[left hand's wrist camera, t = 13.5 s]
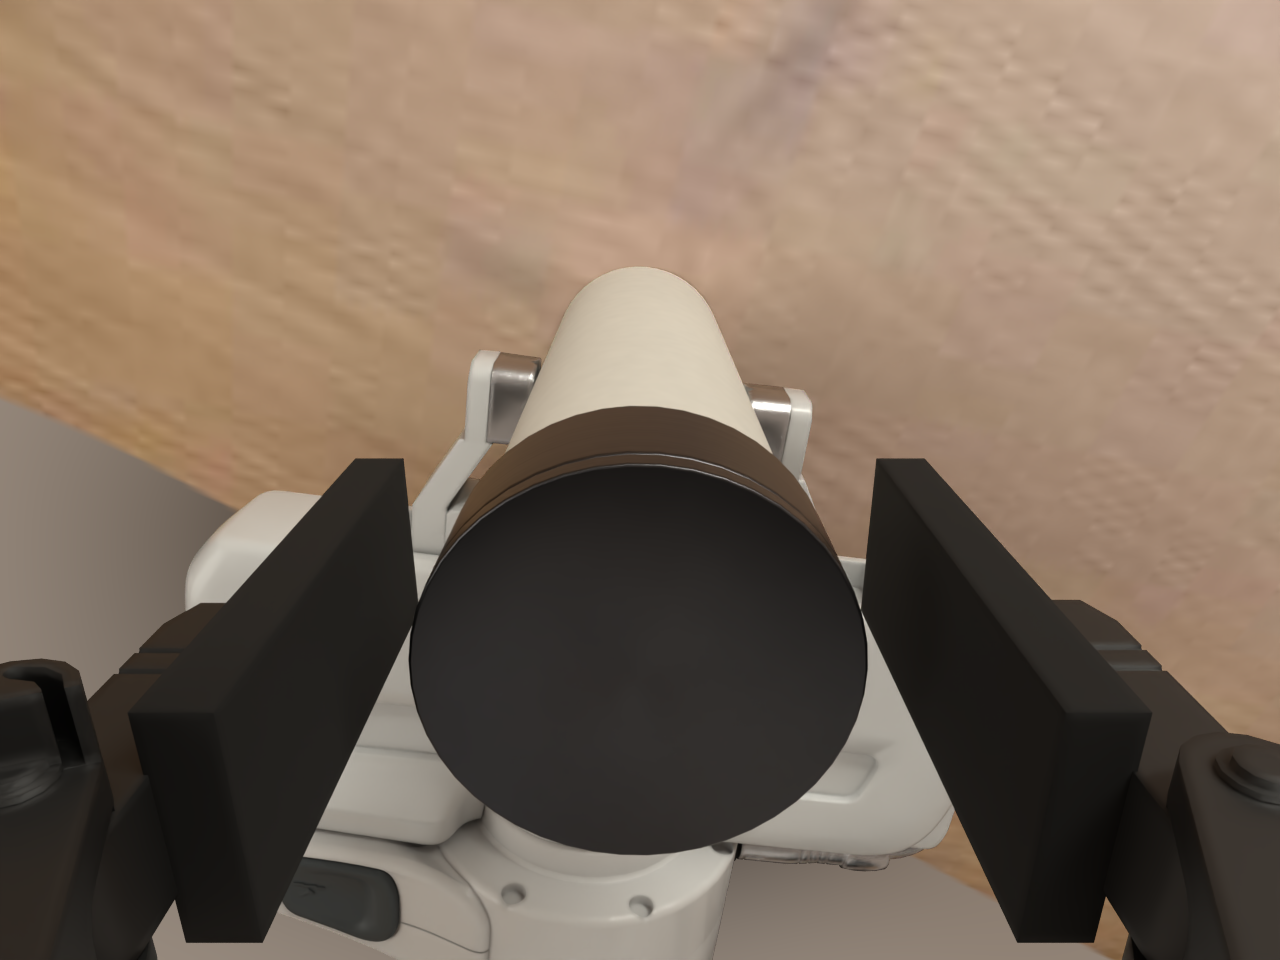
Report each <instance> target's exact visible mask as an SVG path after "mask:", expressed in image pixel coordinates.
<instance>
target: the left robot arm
mask: <svg viewBox="0 0 1280 960" xmlns="http://www.w3.org/2000/svg"><path fill="white" fill-rule="evenodd" d="M417 604H418V593H417V584H416V574H415V565H414V555H413V545H412V536H411V526H410V517H409V507H408V498H407V488H406V479H405V469H404V459H355V460H354V461H353V462H352V463H351V464H350V465H349V466H348V467H347V469H346V470H345V471H344V472H343V473H342V474H341V475H340V476H339V477H338V479H337V480H336V481H335V482H334V483H333V484H332V485H331V486H330V487H329V489H328V490H327V491H326V492H325V493H324V494H323V495H322V496H321V498H320V499H319V500H318V501H317V502H316V503H315V504H314V505H313V506H312V508H311V509H310V510H309V511H308V512H307V513H306V514H305V515H304V516H303V518H302V519H301V520H300V521H299V522H298V523H297V524H296V525H295V526H294V528H293V529H292V530H291V531H290V532H289V533H288V534H287V535H286V537H285V538H284V539H283V540H282V541H281V542H280V543H279V544H278V545H277V547H276V548H275V549H274V550H273V551H272V552H271V553H270V554H269V555H268V557H267V558H266V559H265V560H264V561H263V562H262V563H261V564H260V565H259V567H258V568H257V569H256V570H255V571H254V572H253V573H252V574H251V575H250V577H249V578H248V579H247V580H246V581H245V582H244V583H243V584H242V586H241V587H240V588H239V589H238V590H237V591H236V592H235V593H234V594H233V596H232V597H231V598H230V599H229V600H228V601H227V602H226V603H199V604H198V605H196V606H194V607H192V608H191V609H189V610H187V611H185V612H184V613H182V614H180V615H178V616H177V617H175V618H173V619H171V620H169V621H168V622H166V623H164V624H163V625H162V626H161V627H160V628H159V629H158V630H157V631H156V632H155V633H154V634H153V635H152V636H151V637H150V638H149V639H148V640H147V641H146V642H145V643H144V644H143V645H142V646H141V647H140V648H139V649H140V651H139V653H134V654H133V655H132V656H131V657H130V658H129V659H128V660H127V661H126V662H125V663H124V664H123V665H122V667H120V669H119V674H114V675H113V676H112V677H111V678H110V679H109V680H108V681H107V682H106V683H105V684H104V685H103V686H102V687H101V688H100V689H99V690H98V691H97V692H96V693H95V694H94V695H93V696H92V697H91V698H90V699H89V700H88V701H87V698H86V695H85V691H84V687H83V684H82V680H81V677H80V673H79V671H78V670H77V669H75V668H74V667H72V666H71V665H69V664H68V663H66V662H63V661H56V660H48V659H32V660H21V661H10V662H6V663H2V664H0V960H157V954H156V950H155V947H154V943H153V940H152V936H153V934H154V932H155V931H156V929H157V927H158V926H159V924H160V922H161V921H162V919H163V918H164V916H165V914H166V913H167V911H168V910H169V908H170V906H171V905H172V903H173V901H174V900H175V901H176V905H177V909H178V913H179V917H180V921H181V925H182V929H183V932H184V936H185V940H186V943H263V941H264V939H265V936H266V934H267V932H268V930H269V928H270V926H271V924H272V922H273V919H274V917H275V915H276V913H277V911H278V909H279V907H280V905H281V903H282V900H283V898H284V896H285V894H286V892H287V890H288V888H289V886H290V883H291V881H292V879H293V877H294V875H295V873H296V871H297V869H298V866H299V864H300V862H301V860H302V858H303V856H304V854H305V852H306V849H307V847H308V845H309V843H310V841H311V839H312V837H313V835H314V832H315V830H316V828H317V826H318V824H319V822H320V820H321V818H322V816H323V813H324V811H325V809H326V807H327V805H328V803H329V801H330V799H331V796H332V794H333V792H334V790H335V788H336V786H337V784H338V782H339V779H340V777H341V775H342V773H343V771H344V769H345V767H346V765H347V762H348V760H349V758H350V756H351V754H352V752H353V750H354V748H355V745H356V743H357V741H358V739H359V737H360V735H361V733H362V731H363V728H364V726H365V724H366V722H367V720H368V718H369V716H370V714H371V712H372V709H373V707H374V705H375V703H376V701H377V699H378V697H379V695H380V692H381V690H382V688H383V686H384V684H385V682H386V680H387V678H388V675H389V673H390V671H391V669H392V667H393V665H394V663H395V661H396V658H397V656H398V654H399V652H400V650H401V648H402V646H403V644H404V641H405V639H406V637H407V635H408V633H409V631H410V629H411V627H412V624H413V619H414V615H415V610H416V607H417ZM861 612H862V614H863V616H864V618H865V620H866V622H867V625H868V627H869V629H870V631H871V633H872V635H873V637H874V639H875V642H876V644H877V646H878V648H879V650H880V652H881V654H882V656H883V659H884V661H885V663H886V665H887V667H888V669H889V671H890V673H891V675H892V678H893V680H894V682H895V684H896V686H897V688H898V690H899V692H900V695H901V697H902V699H903V701H904V703H905V705H906V707H907V709H908V712H909V714H910V716H911V718H912V720H913V722H914V724H915V726H916V729H917V731H918V733H919V735H920V737H921V739H922V741H923V743H924V746H925V748H926V750H927V752H928V754H929V756H930V758H931V760H932V763H933V765H934V767H935V769H936V771H937V773H938V775H939V777H940V779H941V782H942V784H943V786H944V788H945V790H946V792H947V794H948V796H949V799H950V801H951V803H952V805H953V807H954V809H955V811H956V813H957V816H958V818H959V820H960V822H961V824H962V826H963V828H964V830H965V833H966V835H967V837H968V839H969V841H970V843H971V845H972V847H973V850H974V852H975V854H976V856H977V858H978V860H979V862H980V864H981V866H982V869H983V871H984V873H985V875H986V877H987V879H988V881H989V883H990V886H991V888H992V890H993V892H994V894H995V896H996V898H997V900H998V903H999V905H1000V907H1001V909H1002V911H1003V913H1004V915H1005V917H1006V919H1007V922H1008V924H1009V926H1010V928H1011V930H1012V932H1013V934H1014V936H1015V938H1016V941H1017V942H1018V943H1094V940H1095V936H1096V932H1097V929H1098V925H1099V921H1100V917H1101V913H1102V909H1103V905H1104V901H1105V897H1107V899H1108V900H1109V902H1110V903H1111V905H1112V907H1113V908H1114V910H1115V911H1116V913H1117V915H1118V916H1119V918H1120V920H1121V921H1122V923H1123V924H1124V926H1125V928H1126V929H1127V931H1128V933H1129V936H1128V939H1127V943H1126V947H1125V950H1124V954H1123V958H1122V960H1280V744H1276V743H1273V742H1269V741H1266V740H1262V739H1259V738H1256V737H1252V736H1249V735H1242V734H1233V733H1228V732H1227V731H1226V730H1225V729H1224V728H1223V727H1222V726H1221V725H1220V724H1219V723H1218V722H1217V721H1216V720H1215V719H1214V718H1213V717H1212V716H1211V715H1210V714H1209V713H1208V712H1207V711H1206V710H1205V709H1204V708H1203V707H1202V706H1201V705H1200V704H1199V703H1198V702H1197V701H1196V700H1195V699H1194V698H1193V697H1192V696H1191V695H1190V694H1189V693H1188V692H1187V691H1186V690H1185V689H1184V688H1183V687H1182V686H1181V685H1180V684H1179V683H1178V682H1177V681H1176V680H1175V679H1174V678H1173V677H1172V676H1171V675H1170V674H1169V673H1168V672H1167V671H1162V668H1161V667H1162V666H1161V665H1160V664H1159V663H1158V662H1157V661H1156V660H1155V659H1154V658H1153V657H1152V656H1151V655H1150V653H1149V652H1148V651H1147V650H1142V649H1141V644H1140V643H1139V642H1138V641H1137V640H1136V639H1135V638H1134V637H1133V636H1132V635H1131V634H1130V633H1129V632H1128V631H1127V630H1126V629H1125V628H1124V627H1123V626H1122V625H1121V624H1120V623H1119V622H1118V621H1116V620H1115V619H1113V618H1111V617H1109V616H1108V615H1106V614H1104V613H1102V612H1100V611H1099V610H1097V609H1095V608H1093V607H1092V606H1090V605H1088V604H1086V603H1084V602H1083V601H1081V600H1051V599H1050V598H1049V597H1048V596H1047V594H1046V593H1045V592H1044V591H1043V590H1042V589H1041V588H1040V587H1039V586H1038V584H1037V583H1036V582H1035V581H1034V580H1033V579H1032V578H1031V577H1030V576H1029V574H1028V573H1027V572H1026V571H1025V570H1024V569H1023V568H1022V567H1021V565H1020V564H1019V563H1018V562H1017V561H1016V560H1015V559H1014V558H1013V557H1012V555H1011V554H1010V553H1009V552H1008V551H1007V550H1006V549H1005V548H1004V547H1003V545H1002V544H1001V543H1000V542H999V541H998V540H997V539H996V538H995V537H994V535H993V534H992V533H991V532H990V531H989V530H988V529H987V528H986V527H985V525H984V524H983V523H982V522H981V521H980V520H979V519H978V518H977V516H976V515H975V514H974V513H973V512H972V511H971V510H970V509H969V508H968V506H967V505H966V504H965V503H964V502H963V501H962V500H961V499H960V498H959V496H958V495H957V494H956V493H955V492H954V491H953V490H952V489H951V488H950V486H949V485H948V484H947V483H946V482H945V481H944V480H943V479H942V478H941V476H940V475H939V474H938V473H937V472H936V471H935V470H934V469H933V467H932V466H931V465H930V464H929V463H928V462H927V461H926V460H925V459H876V469H875V478H874V488H873V497H872V507H871V517H870V526H869V536H868V545H867V555H866V564H865V574H864V583H863V593H862V603H861Z"/></svg>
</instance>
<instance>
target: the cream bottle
mask: <svg viewBox="0 0 1280 960" xmlns="http://www.w3.org/2000/svg"><path fill="white" fill-rule="evenodd" d="M623 406H658V407H664V408H671V409H678V410H684V411H688V412H691V413H695V414H698V415H702V416H705V417H709V418H711V419H714V420H716V421H718V422H721V423H723V424H725V425H728V426H730V427H732V428H735V429H736V430H738V431H740V432H741V433H743V434H745V435H746V436H748V437H750V438H751V439H753V440H755V441H756V442H758V443H759V444H760V445H761V446H763V447H764V448H765V449H767V450H768V451H769V452H770V453H772V451H771V449H770V447H769V444H768V442H767V439H766V437H765V435H764V432H763V430H762V428H761V425H760V423H759V421H758V418H757V416H756V414H755V411H754V409H753V407H752V404H751V402H750V400H749V397H748V395H747V392H746V390H745V388H744V385H743V383H742V381H741V378H740V376H739V374H738V371H737V369H736V367H735V364H734V362H733V360H732V357H731V355H730V352H729V350H728V348H727V345H726V343H725V341H724V338H723V336H722V334H721V331H720V329H719V327H718V324H717V322H716V320H715V317H714V315H713V313H712V311H711V309H710V307H709V305H708V304H707V303H706V301H705V300H704V298H703V297H702V296H701V295H700V294H699V292H698V291H697V290H696V289H695V288H693V287H692V286H691V285H690V284H689V283H687V282H686V281H684V280H683V279H681V278H680V277H678V276H676V275H674V274H672V273H669V272H667V271H664V270H660V269H657V268H650V267H627V268H621V269H617V270H613V271H611V272H608V273H606V274H603V275H601V276H600V277H598V278H596V279H594V280H593V281H592V282H590V283H589V284H588V285H586V286H585V287H584V288H583V289H582V290H581V291H580V292H579V293H578V294H577V295H576V296H575V298H574V299H573V300H572V302H571V303H570V305H569V306H568V308H567V310H566V312H565V314H564V316H563V319H562V321H561V323H560V326H559V328H558V330H557V333H556V335H555V337H554V340H553V342H552V344H551V347H550V349H549V351H548V354H547V356H546V358H545V361H544V363H543V365H542V368H541V370H540V372H539V375H538V377H537V379H536V382H535V384H534V386H533V389H532V391H531V393H530V396H529V398H528V400H527V403H526V405H525V407H524V410H523V412H522V414H521V417H520V419H519V421H518V424H517V426H516V429H515V431H514V433H513V436H512V438H511V440H510V443H509V445H508V447H507V450H506V452H507V451H509V450H510V449H511V448H513V447H514V446H516V445H517V444H518V443H520V442H521V441H522V440H524V439H525V438H527V437H528V436H530V435H532V434H534V433H536V432H537V431H539V430H541V429H543V428H545V427H547V426H549V425H551V424H553V423H556V422H558V421H561V420H564V419H566V418H569V417H572V416H574V415H577V414H582V413H586V412H590V411H594V410H599V409H603V408H613V407H623ZM506 452H505V453H506Z"/></svg>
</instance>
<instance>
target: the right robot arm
mask: <svg viewBox="0 0 1280 960" xmlns="http://www.w3.org/2000/svg"><path fill="white" fill-rule="evenodd" d="M540 370H541V358H538V357H531V356H524V355H517V354H510V353H503V352H500V351H488V350H479V351H478V353H477V354H476V355H475V357H474V358H473V360H472V363H471V367H470V372H469V377H468V387H467V404H466V421H465V428H464V429H463V431H462V432H461V433H460V435H459V436H458V438H457V439H456V440H455V442H454V443H453V445H452V446H451V447H450V449H449V450H448V452H447V453H446V454H445V456H444V457H443V459H442V460H441V461H440V463H439V464H438V466H437V467H436V468H435V470H434V471H433V473H432V474H431V476H430V477H429V479H428V481H427V482H426V484H425V485H424V487H423V489H422V490H421V492H420V493H419V495H418V497H417V498H416V500H415V501H414V503H413V506H408V507H409V517H410V526H411V536H412V545H413V555H414V565H415V574H416V584H417V593H418V602H419V599H420V597H421V594H422V592H423V589H424V587H425V584H426V582H427V580H428V578H429V576H430V574H431V572H432V570H433V567H434V565H435V563H436V561H437V559H438V557H439V555H440V553H441V551H442V549H443V547H444V545H445V542H446V540H447V538H448V536H449V534H450V532H451V530H452V528H453V526H454V524H455V522H456V520H457V517H458V515H459V513H460V511H461V509H462V507H463V506H464V504H465V502H466V500H467V499H468V497H469V495H470V494H471V492H472V490H473V488H474V487H475V486H476V485H477V483H478V482H479V481H480V479H472V478H468V477H469V476H470V474H471V473H472V472H473V470H474V469H475V468H476V466H477V465H478V463H479V462H480V461H481V459H482V458H483V456H484V455H485V454H486V452H487V451H488V450H489V448H490V447H491V445H492V444H493V443H499V444H509V443H510V440H511V438H512V436H513V433H514V431H515V429H516V426H517V424H518V421H519V419H520V417H521V414H522V412H523V410H524V407H525V405H526V403H527V400H528V398H529V396H530V393H531V391H532V389H533V386H534V384H535V382H536V379H537V377H538V375H539V372H540ZM744 388H745V390H746V392H747V395H748V397H749V400H750V402H751V404H752V407H753V409H754V411H755V414H756V416H757V418H758V421H759V423H760V425H761V428H762V430H763V432H764V435H765V437H766V439H767V442H768V444H769V447H770V449H771V451H772V454H773V455H774V456H775V457H777V458H778V460H779V461H780V462H781V463H782V464H783V465H784V466H785V467H786V468H787V469H788V470H789V471H790V472H791V473H792V474H793V475H794V477H795V478H796V479H797V481H798V482H799V484H800V485H801V486H802V488H803V489H804V491H805V492H806V493H807V495H808V497H809V499H810V501H811V502H812V504H813V501H812V499H811V496H810V493H809V491H808V488H807V485H806V483H805V480H804V478H803V476H802V474H801V471H802V466H803V462H804V457H805V452H806V447H807V442H808V437H809V433H810V428H811V423H812V402H811V400H810V399H809V397H808V396H807V394H806V393H805V391H804V390H800V389H792V388H783V387H776V386H767V385H758V384H749V383H744ZM320 498H321V495H312V494H304V493H296V492H288V491H267V492H265V493H262V494H260V495H258V496H257V497H255V498H254V499H253V500H251V501H250V502H249V503H248V504H246V505H245V506H244V507H243V508H241V509H240V510H239V511H238V512H236V513H235V514H234V515H233V516H232V517H230V518H229V519H228V520H227V521H226V522H224V523H223V524H222V525H221V526H220V527H219V528H218V529H217V530H216V531H215V532H214V534H213V535H212V536H211V537H210V538H209V539H208V540H207V541H206V542H205V543H204V545H203V546H202V547H201V548H200V550H199V551H198V552H197V554H196V555H195V557H194V559H193V560H192V562H191V564H190V567H189V569H188V572H187V576H186V582H185V611H187V610H189V609H191V608H192V607H194V606H196V605H198V604H199V603H226V602H227V601H228V600H229V599H230V598H231V597H232V596H233V594H234V593H235V592H236V591H237V590H238V589H239V588H240V587H241V586H242V584H243V583H244V582H245V581H246V580H247V579H248V578H249V577H250V575H251V574H252V573H253V572H254V571H255V570H256V569H257V568H258V567H259V565H260V564H261V563H262V562H263V561H264V560H265V559H266V558H267V557H268V555H269V554H270V553H271V552H272V551H273V550H274V549H275V548H276V547H277V545H278V544H279V543H280V542H281V541H282V540H283V539H284V538H285V537H286V535H287V534H288V533H289V532H290V531H291V530H292V529H293V528H294V526H295V525H296V524H297V523H298V522H299V521H300V520H301V519H302V518H303V516H304V515H305V514H306V513H307V512H308V511H309V510H310V509H311V508H312V506H313V505H314V504H315V503H316V502H317V501H318V500H319V499H320ZM813 506H814V504H813ZM814 508H815V507H814ZM838 558H839V560H840V562H841V564H842V566H843V568H844V571H845V573H846V575H847V577H848V579H849V581H850V583H851V585H852V587H853V589H854V592H855V594H856V597H857V600H858V603H859V606H860V609H861V603H862V593H863V583H864V574H865V564H866V559H862V558H853V557H845V556H838ZM862 615H863V614H862ZM863 619H864V625H865V631H866V637H867V643H868V672H867V679H866V687H865V694H864V697H863V701H862V704H861V707H860V711H859V714H858V718H857V721H856V723H855V725H854V727H853V729H852V731H851V734H850V736H849V738H848V740H847V742H846V744H845V746H844V747H843V749H842V750H841V752H840V753H839V755H838V756H837V758H836V760H835V761H834V763H833V764H832V765H831V767H830V768H829V769H828V770H827V771H826V773H825V774H824V775H823V776H822V777H821V778H820V780H819V781H818V782H817V783H816V784H815V785H814V786H813V787H812V788H811V789H810V790H809V791H808V792H807V793H805V794H804V795H803V796H802V797H801V798H800V799H799V800H798V801H797V802H795V803H794V804H793V805H791V806H790V807H788V808H787V809H786V810H784V811H783V812H781V813H780V814H779V815H777V816H776V817H774V818H773V819H771V820H769V821H767V822H765V823H764V824H762V825H760V826H758V827H756V828H755V829H753V830H751V831H748V832H746V833H743V834H741V835H739V836H736V837H734V838H732V839H729V840H727V841H723V842H720V843H717V844H713V845H710V846H707V847H703V848H699V849H694V850H689V851H683V852H678V853H670V854H659V855H616V854H608V853H599V852H592V851H587V850H583V849H579V848H574V847H570V846H566V845H563V844H560V843H557V842H554V841H551V840H548V839H545V838H542V837H540V836H537V835H535V834H533V833H531V832H529V831H527V830H525V829H522V828H520V827H518V826H516V825H514V824H513V823H511V822H509V821H508V820H506V819H505V818H503V817H501V816H500V815H498V814H496V813H495V812H493V811H492V810H491V809H489V808H488V807H487V806H486V805H484V804H483V803H482V802H480V801H479V800H478V799H477V798H475V797H474V796H473V795H472V794H471V793H470V792H469V791H468V790H467V789H466V788H465V787H464V786H463V785H462V784H461V783H460V782H459V781H458V780H457V779H456V778H455V777H454V776H453V774H452V773H451V772H450V771H449V769H448V768H447V767H446V765H445V764H444V763H443V762H442V760H441V759H440V758H439V756H438V754H437V753H436V751H435V749H434V747H433V746H432V744H431V742H430V741H429V739H428V737H427V735H426V733H425V730H424V728H423V725H422V723H421V720H420V718H419V716H418V713H417V710H416V706H415V702H414V698H413V694H412V689H411V685H410V673H409V662H408V658H409V643H410V632H411V629H410V631H409V633H408V635H407V637H406V639H405V641H404V644H403V646H402V648H401V650H400V652H399V654H398V656H397V658H396V661H395V663H394V665H393V667H392V669H391V671H390V673H389V675H388V678H387V680H386V682H385V684H384V686H383V688H382V690H381V692H380V695H379V697H378V699H377V701H376V703H375V705H374V707H373V709H372V712H371V714H370V716H369V718H368V720H367V722H366V724H365V726H364V728H363V731H362V733H361V735H360V737H359V739H358V741H357V743H356V745H355V748H354V750H353V752H352V754H351V756H350V758H349V760H348V762H347V765H346V767H345V769H344V771H343V773H342V775H341V777H340V779H339V782H338V784H337V786H336V788H335V790H334V792H333V794H332V796H331V799H330V801H329V803H328V805H327V807H326V809H325V811H324V813H323V816H322V818H321V820H320V822H319V824H318V826H317V828H316V830H315V832H314V835H313V837H312V839H311V841H310V843H309V845H308V847H307V849H306V852H305V854H304V856H303V858H302V860H301V862H300V864H299V866H298V869H297V871H296V873H295V875H294V877H293V879H292V881H291V883H290V886H289V888H288V890H287V892H286V894H285V896H284V898H283V900H282V903H281V905H280V907H279V909H278V911H277V913H280V914H282V915H285V916H288V917H291V918H294V919H297V920H300V921H303V922H306V923H309V924H312V925H315V926H317V927H320V928H323V929H326V930H329V931H332V932H334V933H337V934H339V935H342V936H345V937H347V938H350V939H352V940H355V941H357V942H360V943H362V944H364V945H367V946H369V947H371V948H374V949H376V950H378V951H380V952H382V953H384V954H387V955H389V956H391V957H393V958H395V959H397V960H712V959H713V955H714V950H715V946H716V941H717V937H718V932H719V927H720V923H721V918H722V914H723V909H724V904H725V899H726V894H727V890H728V886H729V881H730V877H731V872H732V868H733V863H734V861H735V860H736V858H738V859H745V860H755V861H765V862H775V863H788V864H797V863H799V864H802V863H807V862H808V863H816V862H817V863H822V864H825V863H826V864H833V865H839V866H840V867H841V868H845V869H849V870H855V871H877V870H882V869H885V868H887V866H888V864H889V861H890V859H896V858H903V857H906V856H910V855H913V854H915V853H918V852H920V851H922V850H923V849H931V848H934V847H936V846H937V845H938V844H939V843H940V842H941V841H942V839H943V838H944V836H945V835H946V833H947V831H948V829H949V826H950V823H951V820H952V817H953V814H954V811H955V809H954V807H953V805H952V803H951V801H950V799H949V796H948V794H947V792H946V790H945V788H944V786H943V784H942V782H941V779H940V777H939V775H938V773H937V771H936V769H935V767H934V765H933V763H932V760H931V758H930V756H929V754H928V752H927V750H926V748H925V746H924V743H923V741H922V739H921V737H920V735H919V733H918V731H917V729H916V726H915V724H914V722H913V720H912V718H911V716H910V714H909V712H908V709H907V707H906V705H905V703H904V701H903V699H902V697H901V695H900V692H899V690H898V688H897V686H896V684H895V682H894V680H893V678H892V675H891V673H890V671H889V669H888V667H887V665H886V663H885V661H884V659H883V656H882V654H881V652H880V650H879V648H878V646H877V644H876V642H875V639H874V637H873V635H872V633H871V631H870V629H869V627H868V625H867V622H866V620H865V618H864V616H863ZM411 628H412V627H411Z"/></svg>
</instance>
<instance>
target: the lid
mask: <svg viewBox="0 0 1280 960" xmlns="http://www.w3.org/2000/svg"><path fill="white" fill-rule="evenodd" d="M408 662H409V673H410V685H411V689H412V694H413V698H414V702H415V706H416V710H417V713H418V716H419V718H420V720H421V723H422V725H423V728H424V730H425V733H426V735H427V737H428V739H429V741H430V742H431V744H432V746H433V747H434V749H435V751H436V753H437V754H438V756H439V758H440V759H441V760H442V762H443V763H444V764H445V765H446V767H447V768H448V769H449V771H450V772H451V773H452V774H453V776H454V777H455V778H456V779H457V780H458V781H459V782H460V783H461V784H462V785H463V786H464V787H465V788H466V789H467V790H468V791H469V792H470V793H471V794H472V795H473V796H474V797H475V798H477V799H478V800H479V801H480V802H482V803H483V804H484V805H486V806H487V807H488V808H489V809H491V810H492V811H493V812H495V813H496V814H498V815H500V816H501V817H503V818H505V819H506V820H508V821H509V822H511V823H513V824H514V825H516V826H518V827H520V828H522V829H525V830H527V831H529V832H531V833H533V834H535V835H537V836H540V837H542V838H545V839H548V840H551V841H554V842H557V843H560V844H563V845H566V846H570V847H574V848H579V849H583V850H587V851H592V852H599V853H608V854H616V855H659V854H670V853H678V852H683V851H689V850H694V849H699V848H703V847H707V846H710V845H713V844H717V843H720V842H723V841H727V840H729V839H732V838H734V837H736V836H739V835H741V834H743V833H746V832H748V831H751V830H753V829H755V828H756V827H758V826H760V825H762V824H764V823H765V822H767V821H769V820H771V819H773V818H774V817H776V816H777V815H779V814H780V813H781V812H783V811H784V810H786V809H787V808H788V807H790V806H791V805H793V804H794V803H795V802H797V801H798V800H799V799H800V798H801V797H802V796H803V795H804V794H805V793H807V792H808V791H809V790H810V789H811V788H812V787H813V786H814V785H815V784H816V783H817V782H818V781H819V780H820V778H821V777H822V776H823V775H824V774H825V773H826V771H827V770H828V769H829V768H830V767H831V765H832V764H833V763H834V761H835V760H836V758H837V756H838V755H839V753H840V752H841V750H842V749H843V747H844V746H845V744H846V742H847V740H848V738H849V736H850V734H851V731H852V729H853V727H854V725H855V723H856V721H857V718H858V714H859V711H860V707H861V704H862V701H863V697H864V694H865V687H866V679H867V672H868V643H867V637H866V631H865V625H864V619H863V615H862V612H861V609H860V606H859V603H858V600H857V597H856V594H855V592H854V589H853V587H852V585H851V583H850V581H849V579H848V577H847V575H846V573H845V571H844V568H843V566H842V564H841V562H840V560H839V558H838V556H837V554H836V552H835V550H834V548H833V545H832V543H831V541H830V539H829V537H828V535H827V533H826V531H825V529H824V527H823V524H822V522H821V520H820V518H819V516H818V514H817V512H816V510H815V508H814V506H813V504H812V502H811V501H810V499H809V497H808V495H807V493H806V492H805V491H804V489H803V488H802V486H801V485H800V484H799V482H798V481H797V479H796V478H795V477H794V475H793V474H792V473H791V472H790V471H789V470H788V469H787V468H786V467H785V466H784V465H783V464H782V463H781V462H780V461H779V460H778V458H777V457H775V456H774V455H773V454H772V453H770V452H769V451H768V450H767V449H765V448H764V447H763V446H761V445H760V444H759V443H758V442H756V441H755V440H753V439H751V438H750V437H748V436H746V435H745V434H743V433H741V432H740V431H738V430H736V429H735V428H732V427H730V426H728V425H725V424H723V423H721V422H718V421H716V420H714V419H711V418H709V417H705V416H702V415H698V414H695V413H691V412H688V411H684V410H678V409H671V408H664V407H658V406H623V407H613V408H603V409H599V410H594V411H590V412H586V413H582V414H577V415H574V416H572V417H569V418H566V419H564V420H561V421H558V422H556V423H553V424H551V425H549V426H547V427H545V428H543V429H541V430H539V431H537V432H536V433H534V434H532V435H530V436H528V437H527V438H525V439H524V440H522V441H521V442H520V443H518V444H517V445H516V446H514V447H513V448H511V449H510V450H509V451H507V452H506V453H505V454H504V455H503V456H502V457H501V458H500V459H499V460H498V461H497V462H496V463H495V464H493V465H492V466H491V467H490V468H489V469H488V471H487V472H486V473H485V474H484V476H483V477H482V478H481V479H480V481H479V482H478V483H477V485H476V486H475V487H474V488H473V490H472V492H471V494H470V495H469V497H468V499H467V500H466V502H465V504H464V506H463V507H462V509H461V511H460V513H459V515H458V517H457V520H456V522H455V524H454V526H453V528H452V530H451V532H450V534H449V536H448V538H447V540H446V542H445V545H444V547H443V549H442V551H441V553H440V555H439V557H438V559H437V561H436V563H435V565H434V567H433V570H432V572H431V574H430V576H429V578H428V580H427V582H426V584H425V587H424V589H423V592H422V594H421V597H420V599H419V602H418V604H417V607H416V610H415V615H414V619H413V624H412V628H411V632H410V643H409V658H408Z"/></svg>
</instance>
